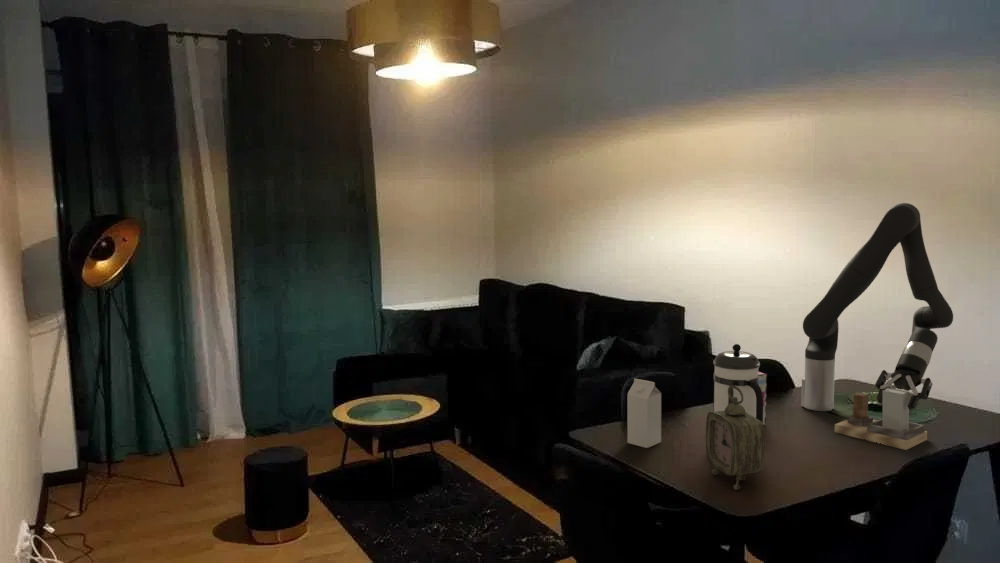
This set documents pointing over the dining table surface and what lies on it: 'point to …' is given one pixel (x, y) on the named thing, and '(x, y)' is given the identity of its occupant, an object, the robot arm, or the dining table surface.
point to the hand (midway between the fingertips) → (894, 405)
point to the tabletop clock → (735, 441)
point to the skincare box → (895, 410)
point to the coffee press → (738, 381)
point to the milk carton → (644, 414)
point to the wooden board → (878, 427)
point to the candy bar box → (763, 392)
